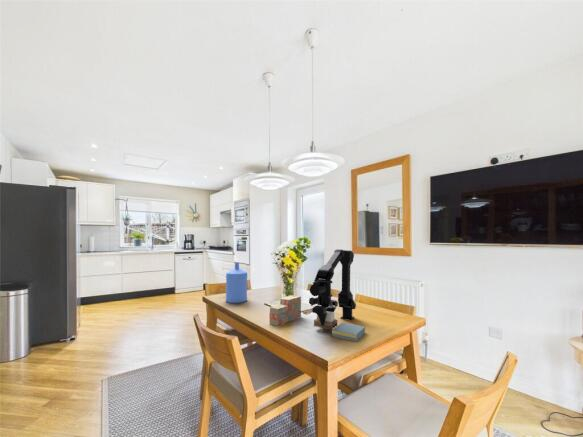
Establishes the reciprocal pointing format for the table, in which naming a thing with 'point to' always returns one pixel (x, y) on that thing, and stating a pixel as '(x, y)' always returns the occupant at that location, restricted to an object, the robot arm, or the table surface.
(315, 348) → the table surface
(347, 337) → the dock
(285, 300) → the stack of blocks
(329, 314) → the off-white carton
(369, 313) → the table surface
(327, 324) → the pallet
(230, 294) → the water jug
